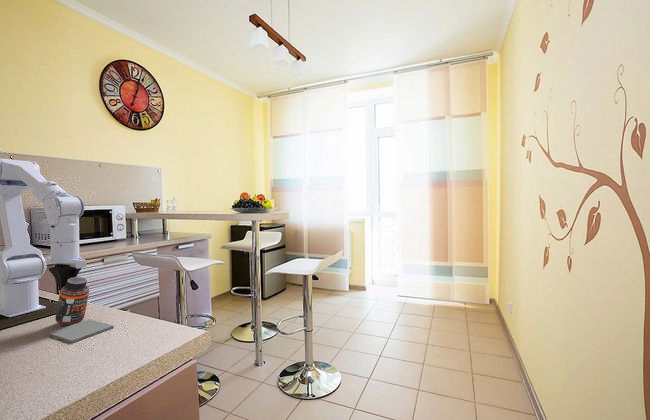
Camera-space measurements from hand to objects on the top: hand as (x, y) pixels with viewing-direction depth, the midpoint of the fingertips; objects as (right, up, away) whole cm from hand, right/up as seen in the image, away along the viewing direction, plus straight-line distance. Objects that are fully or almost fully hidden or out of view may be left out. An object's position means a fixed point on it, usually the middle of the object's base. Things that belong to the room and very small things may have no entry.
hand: (66, 292), depth 79 cm
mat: (+9, -8, -6) cm, 13 cm away
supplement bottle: (+1, -7, 0) cm, 7 cm away
